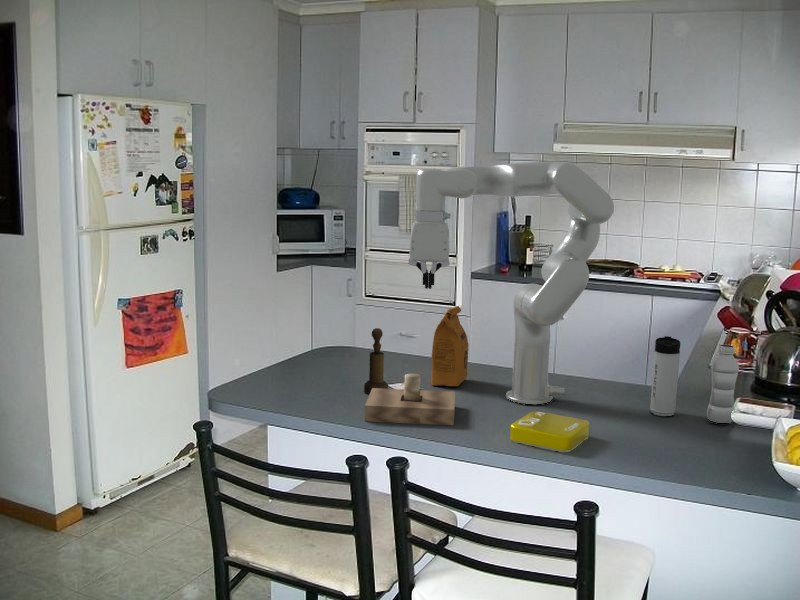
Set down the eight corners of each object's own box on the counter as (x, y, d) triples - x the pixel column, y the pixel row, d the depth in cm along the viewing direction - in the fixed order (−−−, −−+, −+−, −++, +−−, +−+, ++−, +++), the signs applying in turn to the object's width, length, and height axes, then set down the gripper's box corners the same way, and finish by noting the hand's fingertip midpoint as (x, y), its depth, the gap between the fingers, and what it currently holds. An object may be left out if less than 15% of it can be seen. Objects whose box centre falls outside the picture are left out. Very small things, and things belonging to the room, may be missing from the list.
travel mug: (674, 411, 230) (680, 337, 226) (675, 418, 224) (681, 342, 220) (649, 408, 231) (655, 335, 228) (649, 416, 225) (655, 340, 222)
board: (454, 406, 230) (455, 391, 229) (453, 425, 214) (454, 409, 213) (372, 402, 231) (372, 387, 231) (364, 421, 216) (364, 405, 215)
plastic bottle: (700, 420, 222) (706, 344, 219) (721, 418, 225) (728, 342, 221) (717, 428, 216) (724, 349, 213) (739, 425, 219) (746, 348, 215)
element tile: (567, 456, 196) (568, 435, 195) (506, 443, 203) (507, 423, 202) (590, 438, 208) (592, 418, 207) (532, 426, 216) (533, 407, 215)
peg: (420, 411, 225) (421, 373, 223) (419, 416, 220) (420, 378, 219) (404, 410, 225) (405, 373, 223) (403, 415, 221) (404, 377, 219)
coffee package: (472, 380, 256) (475, 306, 252) (458, 390, 245) (461, 313, 241) (441, 376, 260) (443, 303, 256) (425, 386, 249) (428, 310, 245)
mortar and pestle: (389, 389, 244) (390, 326, 241) (386, 396, 238) (388, 331, 235) (365, 388, 245) (366, 325, 242) (362, 394, 238) (363, 330, 235)
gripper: (459, 217, 227) (457, 286, 230) (402, 215, 228) (400, 284, 231) (459, 219, 219) (456, 291, 223) (400, 217, 220) (398, 289, 224)
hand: (428, 287), depth 227 cm, fingers closed
